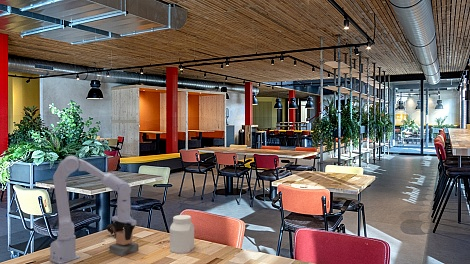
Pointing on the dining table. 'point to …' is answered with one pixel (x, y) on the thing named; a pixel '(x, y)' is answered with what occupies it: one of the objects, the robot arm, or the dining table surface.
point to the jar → (181, 234)
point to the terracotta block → (122, 238)
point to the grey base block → (123, 248)
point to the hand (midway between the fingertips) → (123, 238)
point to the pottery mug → (112, 229)
